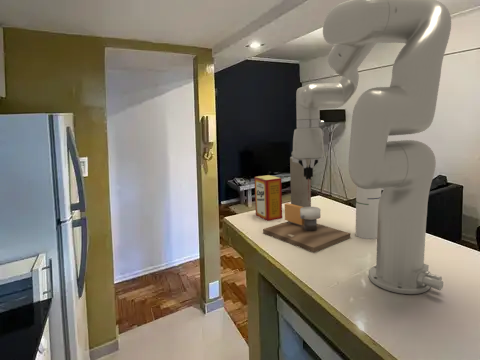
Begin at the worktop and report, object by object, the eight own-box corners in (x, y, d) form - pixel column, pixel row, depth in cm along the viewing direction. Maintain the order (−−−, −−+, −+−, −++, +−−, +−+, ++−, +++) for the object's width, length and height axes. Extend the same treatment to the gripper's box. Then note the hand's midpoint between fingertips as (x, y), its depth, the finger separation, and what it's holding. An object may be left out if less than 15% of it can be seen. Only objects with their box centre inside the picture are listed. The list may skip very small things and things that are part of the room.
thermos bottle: (313, 210, 132) (313, 141, 127) (307, 215, 125) (306, 143, 120) (295, 208, 136) (294, 142, 131) (288, 213, 130) (286, 143, 125)
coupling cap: (326, 226, 104) (326, 208, 103) (309, 231, 100) (309, 213, 99) (294, 216, 116) (294, 201, 115) (278, 221, 111) (277, 205, 110)
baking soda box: (255, 215, 129) (254, 175, 126) (269, 212, 132) (268, 174, 129) (267, 221, 120) (266, 179, 118) (282, 218, 123) (281, 177, 120)
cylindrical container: (382, 239, 98) (384, 157, 93) (357, 238, 99) (359, 158, 94) (376, 231, 104) (379, 154, 100) (353, 230, 106) (355, 155, 101)
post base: (350, 237, 100) (350, 220, 99) (314, 252, 90) (313, 234, 89) (298, 222, 117) (298, 207, 116) (263, 233, 108) (262, 217, 107)
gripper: (329, 123, 110) (329, 176, 113) (285, 125, 112) (286, 177, 115) (332, 124, 102) (332, 180, 106) (285, 126, 105) (286, 181, 108)
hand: (308, 178), depth 111 cm, fingers closed
